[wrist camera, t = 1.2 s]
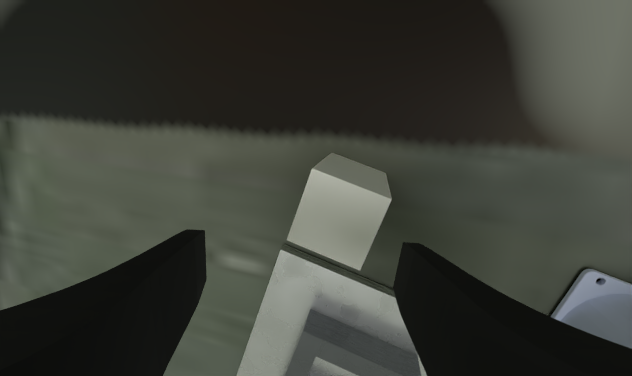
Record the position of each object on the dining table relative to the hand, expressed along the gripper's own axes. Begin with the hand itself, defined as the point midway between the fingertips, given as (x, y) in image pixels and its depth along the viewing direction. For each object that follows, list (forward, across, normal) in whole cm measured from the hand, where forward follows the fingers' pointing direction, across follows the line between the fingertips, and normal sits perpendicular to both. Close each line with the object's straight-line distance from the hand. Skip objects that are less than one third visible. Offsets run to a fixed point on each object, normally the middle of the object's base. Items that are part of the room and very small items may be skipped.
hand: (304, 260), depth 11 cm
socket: (+9, -5, +16) cm, 18 cm away
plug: (+10, -3, +1) cm, 11 cm away
